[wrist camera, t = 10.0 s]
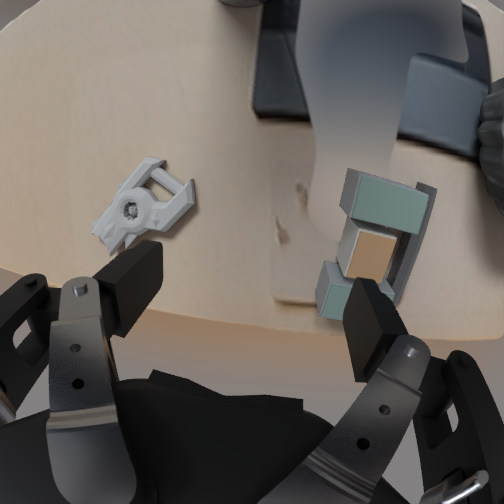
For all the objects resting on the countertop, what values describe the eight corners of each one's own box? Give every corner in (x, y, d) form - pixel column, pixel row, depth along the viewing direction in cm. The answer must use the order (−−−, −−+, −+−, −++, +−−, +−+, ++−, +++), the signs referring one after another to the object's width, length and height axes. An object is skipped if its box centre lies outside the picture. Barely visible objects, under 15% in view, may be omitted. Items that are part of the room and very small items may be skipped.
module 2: (347, 214, 34) (359, 230, 28) (381, 223, 34) (398, 239, 28) (336, 256, 36) (344, 278, 30) (368, 263, 36) (381, 285, 30)
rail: (417, 181, 31) (425, 184, 28) (435, 188, 30) (444, 191, 28) (375, 307, 38) (379, 317, 36) (392, 310, 38) (396, 319, 36)
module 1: (347, 167, 31) (361, 173, 26) (408, 186, 31) (430, 195, 25) (339, 205, 33) (350, 218, 28) (399, 220, 33) (418, 236, 27)
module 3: (324, 261, 37) (330, 283, 31) (381, 272, 36) (396, 295, 30) (315, 291, 39) (319, 318, 33) (370, 301, 38) (381, 327, 32)
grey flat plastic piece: (122, 277, 38) (82, 230, 36) (132, 268, 41) (94, 224, 39) (201, 195, 33) (151, 139, 31) (208, 191, 36) (162, 140, 34)
